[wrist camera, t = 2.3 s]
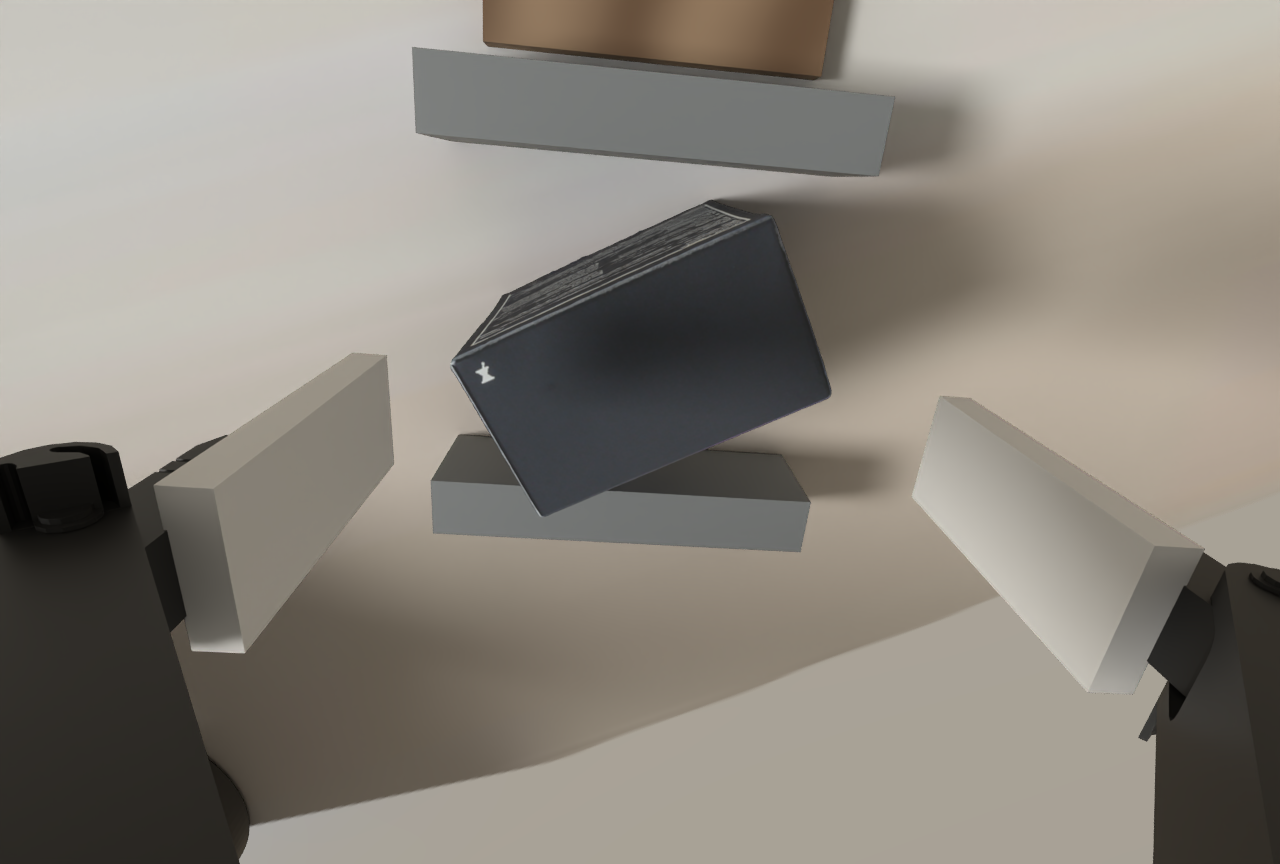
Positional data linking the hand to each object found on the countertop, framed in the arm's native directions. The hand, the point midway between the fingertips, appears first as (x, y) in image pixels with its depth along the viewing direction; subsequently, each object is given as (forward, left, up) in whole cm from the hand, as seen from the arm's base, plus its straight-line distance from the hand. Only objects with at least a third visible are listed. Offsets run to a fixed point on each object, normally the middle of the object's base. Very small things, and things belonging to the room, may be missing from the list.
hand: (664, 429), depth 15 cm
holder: (0, 0, -15) cm, 15 cm away
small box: (0, 0, -15) cm, 15 cm away
